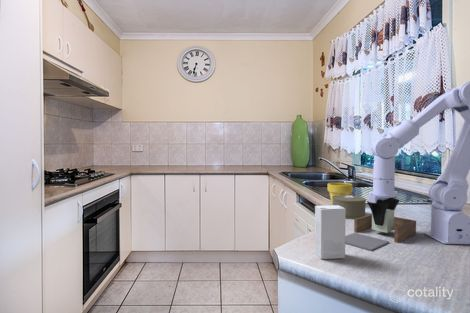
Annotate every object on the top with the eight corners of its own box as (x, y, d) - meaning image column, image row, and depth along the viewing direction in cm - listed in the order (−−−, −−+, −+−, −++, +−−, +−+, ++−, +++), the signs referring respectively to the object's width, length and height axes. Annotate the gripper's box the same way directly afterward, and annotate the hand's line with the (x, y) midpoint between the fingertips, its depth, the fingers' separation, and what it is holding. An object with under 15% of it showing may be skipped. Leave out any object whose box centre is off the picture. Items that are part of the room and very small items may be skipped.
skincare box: (337, 252, 72) (338, 204, 72) (346, 259, 68) (347, 208, 67) (313, 253, 72) (314, 204, 71) (320, 260, 67) (321, 208, 67)
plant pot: (328, 202, 135) (328, 181, 134) (352, 204, 131) (352, 182, 131) (326, 207, 125) (326, 184, 125) (352, 209, 121) (352, 185, 121)
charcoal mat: (389, 242, 79) (389, 241, 79) (371, 251, 73) (371, 249, 73) (354, 234, 87) (354, 232, 87) (335, 240, 81) (335, 239, 81)
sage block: (393, 230, 87) (394, 210, 87) (387, 232, 84) (387, 212, 84) (378, 226, 91) (379, 207, 91) (371, 229, 88) (372, 209, 88)
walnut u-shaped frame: (415, 233, 88) (416, 220, 87) (397, 242, 80) (397, 228, 80) (374, 224, 97) (374, 213, 97) (354, 231, 90) (354, 219, 89)
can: (329, 217, 108) (330, 199, 107) (333, 210, 118) (334, 194, 118) (365, 221, 103) (365, 202, 102) (365, 214, 113) (366, 196, 113)
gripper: (381, 176, 95) (380, 217, 95) (358, 179, 86) (357, 224, 86) (404, 177, 89) (404, 221, 90) (382, 181, 80) (381, 230, 81)
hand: (382, 223), depth 88 cm, fingers closed on sage block, 4 cm apart
